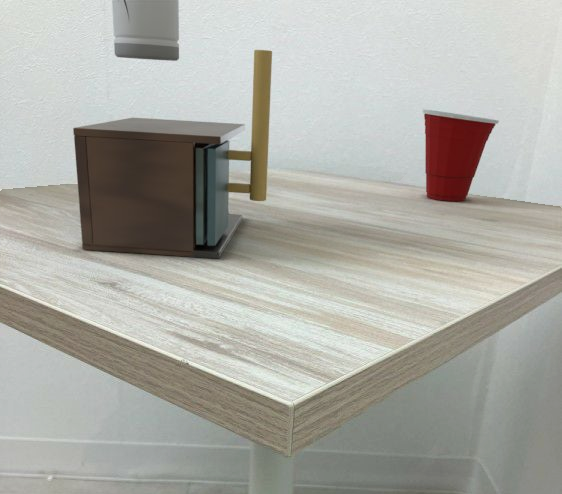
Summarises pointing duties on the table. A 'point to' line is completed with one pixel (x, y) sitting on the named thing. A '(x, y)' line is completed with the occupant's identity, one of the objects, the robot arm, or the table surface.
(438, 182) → the plastic cup
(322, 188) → the table surface
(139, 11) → the travel mug
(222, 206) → the glass door
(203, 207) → the brown wooden cabinet
